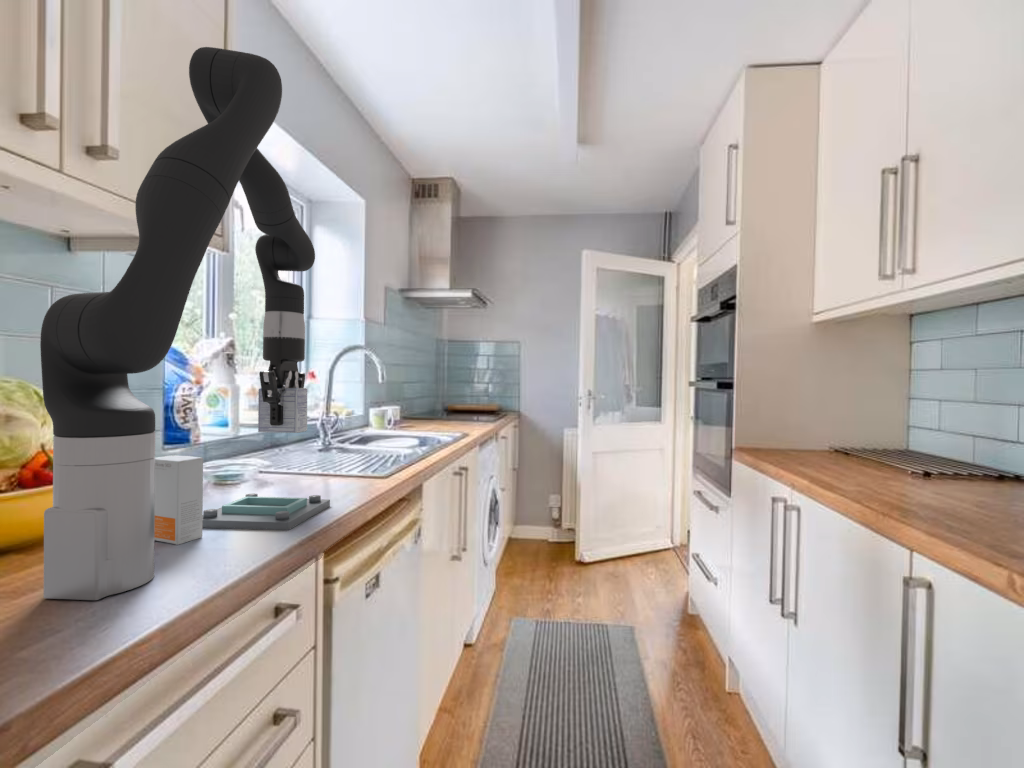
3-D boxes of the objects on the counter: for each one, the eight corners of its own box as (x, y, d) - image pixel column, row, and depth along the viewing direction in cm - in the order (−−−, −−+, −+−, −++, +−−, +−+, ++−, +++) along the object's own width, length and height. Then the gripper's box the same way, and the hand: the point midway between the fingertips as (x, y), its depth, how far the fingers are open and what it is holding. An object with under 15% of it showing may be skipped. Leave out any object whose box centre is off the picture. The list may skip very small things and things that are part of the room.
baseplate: (288, 530, 83) (288, 514, 83) (190, 527, 84) (190, 512, 84) (329, 505, 99) (330, 493, 99) (247, 503, 100) (247, 491, 100)
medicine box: (307, 431, 105) (308, 388, 105) (296, 433, 100) (297, 388, 100) (269, 430, 106) (270, 387, 106) (257, 432, 101) (257, 387, 101)
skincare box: (146, 540, 77) (147, 458, 77) (174, 532, 81) (175, 454, 81) (177, 545, 75) (177, 460, 74) (204, 537, 79) (204, 456, 78)
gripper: (285, 333, 96) (283, 427, 96) (318, 340, 110) (317, 422, 110) (245, 333, 96) (243, 426, 96) (283, 339, 111) (282, 421, 110)
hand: (283, 423), depth 103 cm, fingers closed on medicine box, 4 cm apart
